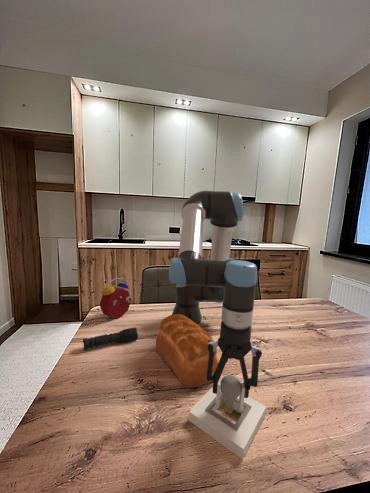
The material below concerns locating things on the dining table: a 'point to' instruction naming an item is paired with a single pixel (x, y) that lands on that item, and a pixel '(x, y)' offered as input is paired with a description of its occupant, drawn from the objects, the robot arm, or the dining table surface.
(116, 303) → the alarm clock
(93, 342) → the flashlight
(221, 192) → the robot arm
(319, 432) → the dining table surface
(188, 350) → the bread
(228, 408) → the light bulb
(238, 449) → the socket block
